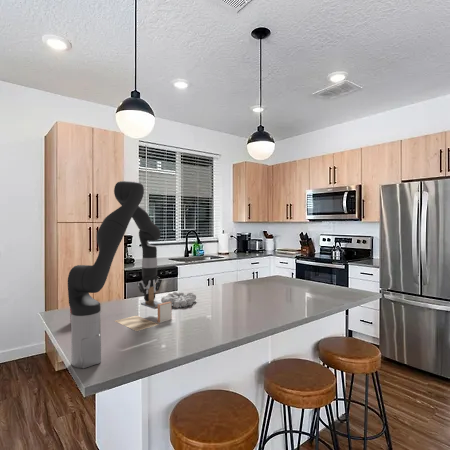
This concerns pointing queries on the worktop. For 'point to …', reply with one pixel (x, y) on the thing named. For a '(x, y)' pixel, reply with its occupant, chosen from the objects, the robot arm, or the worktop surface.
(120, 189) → the robot arm
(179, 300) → the grey lumpy flat piece
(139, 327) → the board
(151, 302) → the wooden post with base
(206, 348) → the worktop surface
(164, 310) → the tile
